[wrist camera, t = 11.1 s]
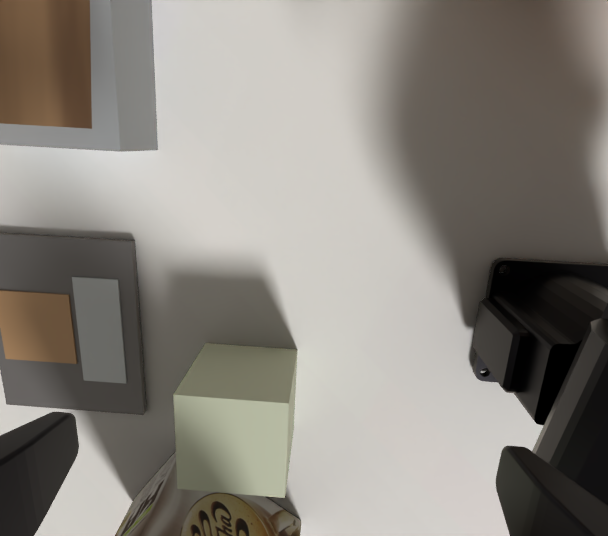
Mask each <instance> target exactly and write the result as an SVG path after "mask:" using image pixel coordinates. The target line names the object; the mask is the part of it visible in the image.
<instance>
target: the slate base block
mask: <svg viewBox="0 0 608 536" xmlns="http://www.w3.org/2000/svg"><path fill="white" fill-rule="evenodd" d="M90 40H91V101H92V129H88V128H71V127H54V126H36V125H19V124H2V123H0V144H1V145H18V146H35V147H52V148H69V149H87V150H104V151H144V150H158V142H157V119H156V95H155V72H154V49H153V26H152V2H151V0H90Z"/></svg>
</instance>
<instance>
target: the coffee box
mask: <svg viewBox="0 0 608 536" xmlns="http://www.w3.org/2000/svg"><path fill="white" fill-rule="evenodd" d="M300 530H301V521H300V520H299V519H298V518H297V517H295V516H294V515H292V514H291V513H289V512H288V511H286V510H284V509H283V508H281V507H280V506H278V505H277V504H275V503H274V502H272V501H271V500H269V499H268V498H266V497H265V496H256V495H244V494H232V493H220V492H209V491H197V490H185V489H178V487H177V466H176V452H175V453H174V454H173V455H172V456H171V457H170V458H169V459H168V461H167V462H166V463H165V464H164V465H163V466H162V467H161V468H160V470H159V471H158V472H157V473H156V474H155V475H154V476H153V478H152V479H151V480H150V481H149V482H148V483H147V484H146V486H145V487H144V488H143V489H142V490H141V492H140V493H139V494H138V495H137V496H136V498H135V499H134V500H133V502H132V504H131V506H130V508H129V510H128V512H127V514H126V516H125V517H124V520H123V522H122V523H121V525H120V527H119V529H118V531H117V533H116V535H115V536H300Z"/></svg>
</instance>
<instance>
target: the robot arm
mask: <svg viewBox="0 0 608 536" xmlns="http://www.w3.org/2000/svg"><path fill="white" fill-rule="evenodd" d="M503 265H506V266H507V269H506V271H505V272H503V273H499V269H500V267H501V266H503ZM472 346H473V348H474V349H475V351H476V353H475V359H474V364H473V372H474V374H475V376H476V377H477V378H478V379H479V380H481V381H488V382H498V383H499V384H500V386H501V387H502V388H503V389H504V390H505V391H506V392H508V393H514V394H515V395H516V397H517V398H518V399H519V401H520V402H521V403H522V405H523V406H524V408H525V409H526V410H527V412H528V413H529V414H530V416H531V417H532V418H533V420H534V421H535V422H536V423H537V424H540V425H544V426H543V429H542V431H541V433H540V435H539V438H538V440H537V442H536V444H535V446H534V449H533V451H530V450H529V449H527V448H525V447H517V446H506V447H504V448H503V450H502V453H501V457H500V462H499V467H498V471H497V476H496V489H497V493H498V496H499V500H500V503H501V507H502V510H503V513H504V517H505V520H506V524H507V527H508V530H509V534H510V536H608V264H597V263H580V262H563V261H546V260H528V259H511V258H499V259H497V260H495V261H494V262H493V263H492V266H491V269H490V275H489V280H488V286H487V291H486V297H485V298H484V299H482V300H481V301H480V304H479V309H478V315H477V321H476V326H475V332H474V338H473V344H472ZM484 368H487V371H486V372H485V373H480V371H481V370H482V369H484ZM78 449H79V443H78V435H77V427H76V420H75V417H74V415H73V414H71V413H65V412H52V413H49V414H47V415H45V416H43V417H40V418H38V419H36V420H34V421H32V422H29V423H27V424H25V425H23V426H21V427H18V428H16V429H14V430H12V431H10V432H7V433H5V434H3V435H1V436H0V536H34V535H35V533H36V531H37V530H38V528H39V526H40V524H41V523H42V521H43V519H44V517H45V516H46V514H47V512H48V510H49V508H50V506H51V504H52V502H53V500H54V499H55V497H56V495H57V493H58V491H59V489H60V487H61V485H62V483H63V481H64V480H65V478H66V476H67V474H68V472H69V470H70V468H71V466H72V464H73V463H74V461H75V459H76V456H77V454H78Z"/></svg>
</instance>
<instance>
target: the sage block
mask: <svg viewBox="0 0 608 536" xmlns="http://www.w3.org/2000/svg"><path fill="white" fill-rule="evenodd" d="M296 368H297V349H283V348H269V347H255V346H240V345H226V344H212V343H205V345H204V346H203V348H202V349H201V351H200V353H199V354H198V356H197V357H196V359H195V361H194V362H193V364H192V365H191V367H190V369H189V370H188V372H187V373H186V375H185V377H184V378H183V380H182V381H181V383H180V385H179V386H178V388H177V389H176V391H175V393H174V394H173V402H174V423H175V445H176V466H177V487H178V489H185V490H197V491H209V492H220V493H232V494H244V495H256V496H268V497H279V498H285V493H286V486H287V478H288V470H289V462H290V454H291V446H292V438H293V430H294V410H295V389H296Z"/></svg>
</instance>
